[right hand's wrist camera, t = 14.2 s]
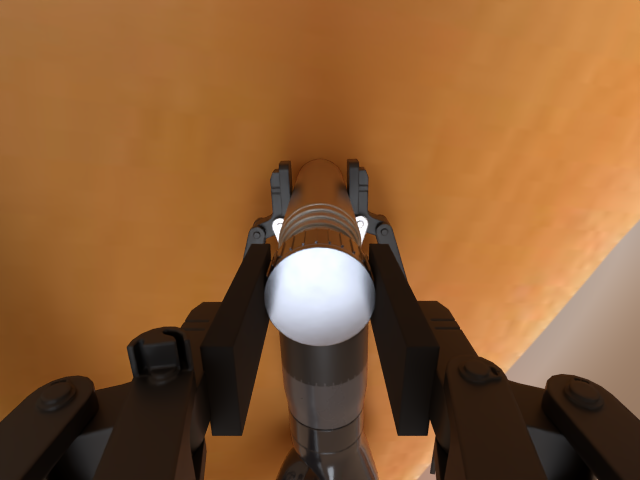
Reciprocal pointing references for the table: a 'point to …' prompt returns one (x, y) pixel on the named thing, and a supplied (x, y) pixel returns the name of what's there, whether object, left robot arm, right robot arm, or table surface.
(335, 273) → the cap
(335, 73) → the table surface
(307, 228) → the bottle
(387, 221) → the left robot arm
